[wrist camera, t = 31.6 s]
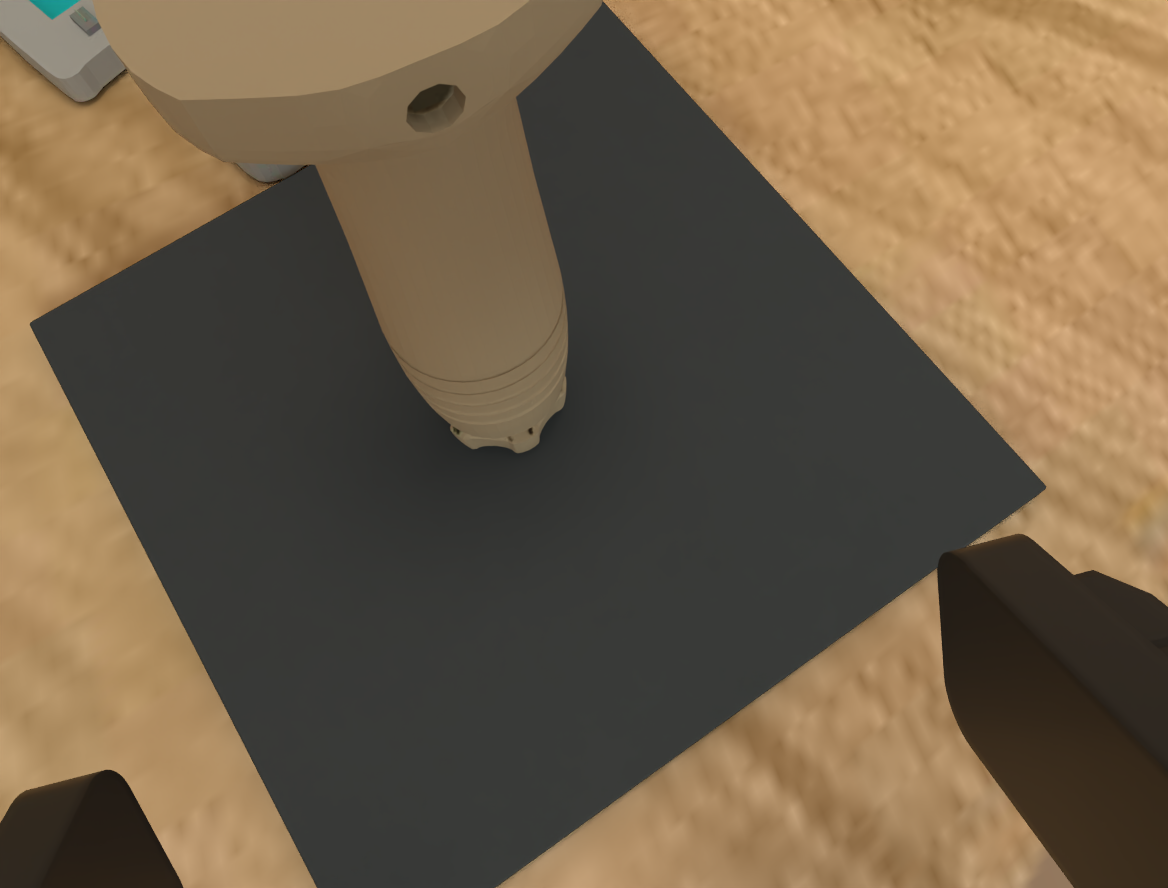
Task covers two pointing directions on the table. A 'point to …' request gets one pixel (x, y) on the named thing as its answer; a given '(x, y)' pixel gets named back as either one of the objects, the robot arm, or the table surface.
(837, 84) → the table surface
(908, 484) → the mat
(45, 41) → the office telephone
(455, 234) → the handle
